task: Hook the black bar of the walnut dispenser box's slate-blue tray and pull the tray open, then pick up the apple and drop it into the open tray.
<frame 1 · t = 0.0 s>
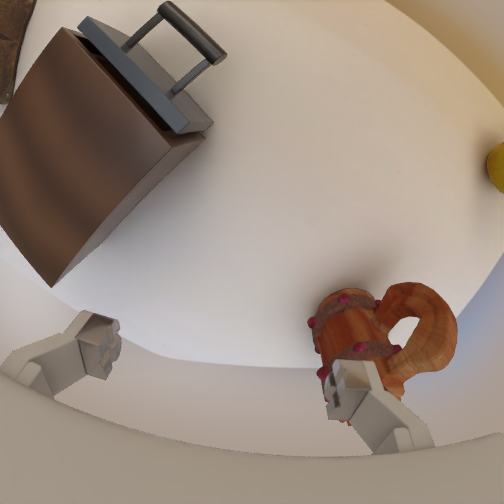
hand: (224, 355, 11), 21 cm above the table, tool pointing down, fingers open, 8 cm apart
mug: (357, 296, 34), on the table
drawer: (110, 115, 22), point 5 cm above the table, slide at 0.5 cm
book: (14, 44, 22), on the table
apple: (493, 162, 26), on the table
cabinet: (106, 148, 28), on the table
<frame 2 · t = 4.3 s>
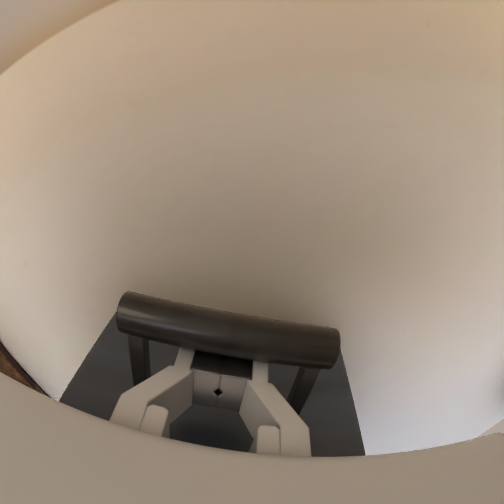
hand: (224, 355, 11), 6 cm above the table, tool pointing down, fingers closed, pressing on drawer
drawer: (209, 445, 14), point 5 cm above the table, slide at 0.5 cm, touching gripper
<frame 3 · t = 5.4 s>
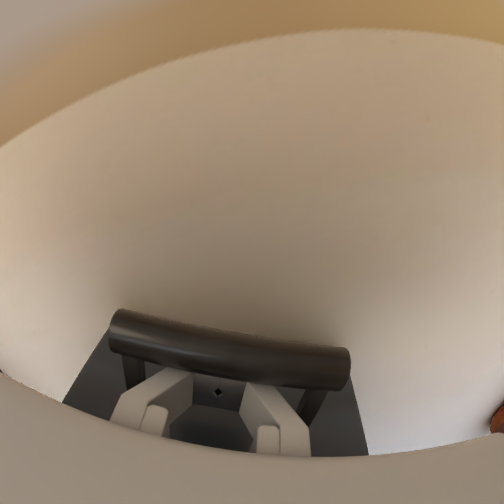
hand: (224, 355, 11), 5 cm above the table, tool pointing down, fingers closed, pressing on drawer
drawer: (209, 460, 13), point 5 cm above the table, slide at 5.9 cm, touching gripper
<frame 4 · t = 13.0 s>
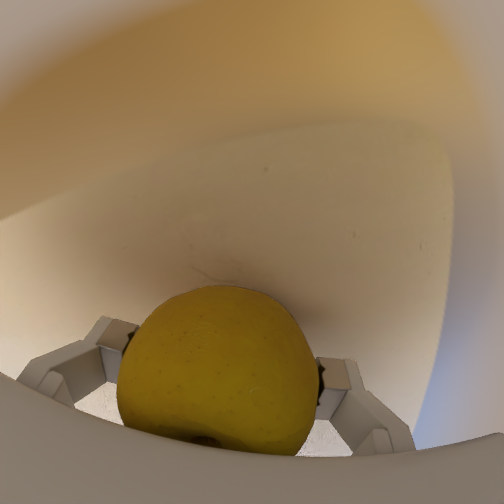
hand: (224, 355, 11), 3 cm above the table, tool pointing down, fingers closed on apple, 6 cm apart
apple: (232, 310, 13), on the table, touching gripper
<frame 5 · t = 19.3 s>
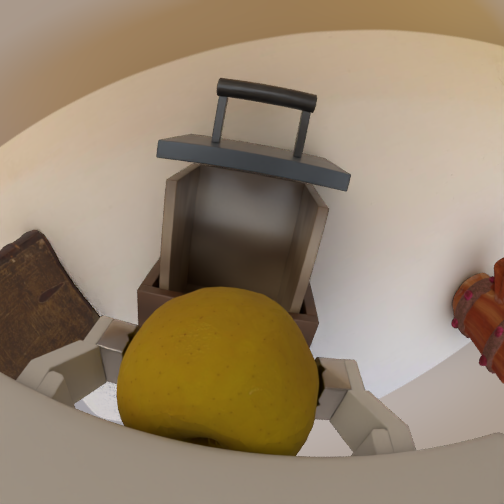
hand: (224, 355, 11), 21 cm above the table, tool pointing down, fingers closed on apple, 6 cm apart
mug: (473, 278, 32), on the table
drawer: (244, 213, 24), point 5 cm above the table, slide at 9.6 cm
book: (62, 281, 35), on the table
apple: (233, 311, 13), point 18 cm above the table, touching gripper
cabinet: (228, 314, 35), on the table
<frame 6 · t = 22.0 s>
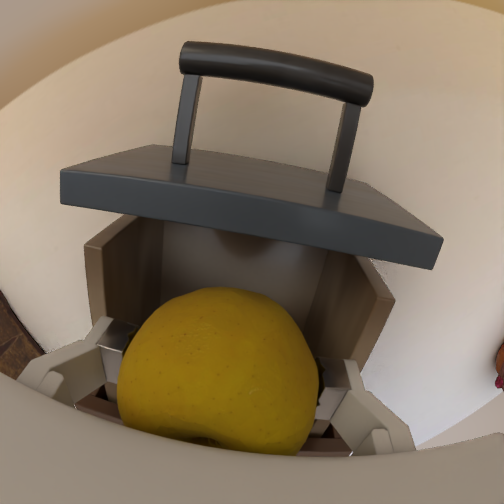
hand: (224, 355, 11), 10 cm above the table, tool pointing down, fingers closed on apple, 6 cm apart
drawer: (237, 283, 14), point 5 cm above the table, slide at 9.6 cm
book: (18, 330, 25), on the table
apple: (232, 311, 13), point 7 cm above the table, touching gripper
cabinet: (220, 386, 25), on the table
when the fingers open (10 cm above the table, at t = 25.8 s): apple drops 5 cm, resting on drawer.
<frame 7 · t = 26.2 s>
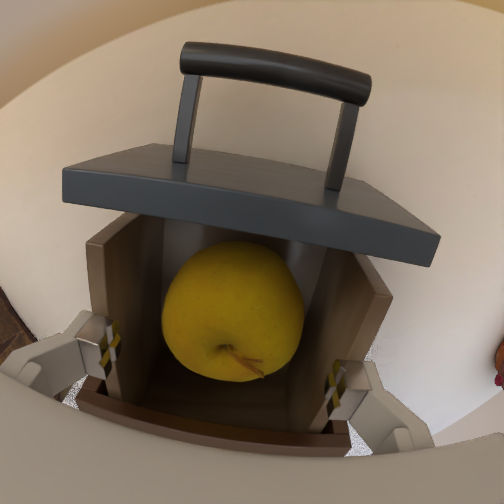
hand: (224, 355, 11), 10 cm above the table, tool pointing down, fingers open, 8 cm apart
drawer: (237, 281, 15), point 5 cm above the table, slide at 9.5 cm, touching apple
book: (19, 327, 25), on the table
apple: (240, 259, 18), point 2 cm above the table, touching drawer
cabinet: (219, 383, 25), on the table
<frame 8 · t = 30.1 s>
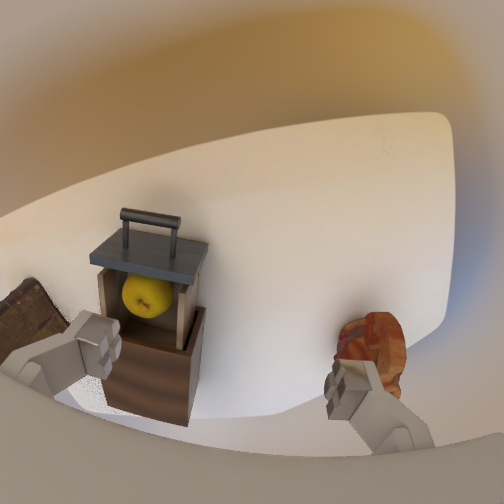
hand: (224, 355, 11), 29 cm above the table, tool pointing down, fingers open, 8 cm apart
mug: (359, 321, 45), on the table
drawer: (150, 286, 37), point 5 cm above the table, slide at 9.6 cm, touching apple
book: (53, 312, 48), on the table
apple: (158, 276, 41), point 2 cm above the table, touching drawer
cabinet: (161, 340, 48), on the table
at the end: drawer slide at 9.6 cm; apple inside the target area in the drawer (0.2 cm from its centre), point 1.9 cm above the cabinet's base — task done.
